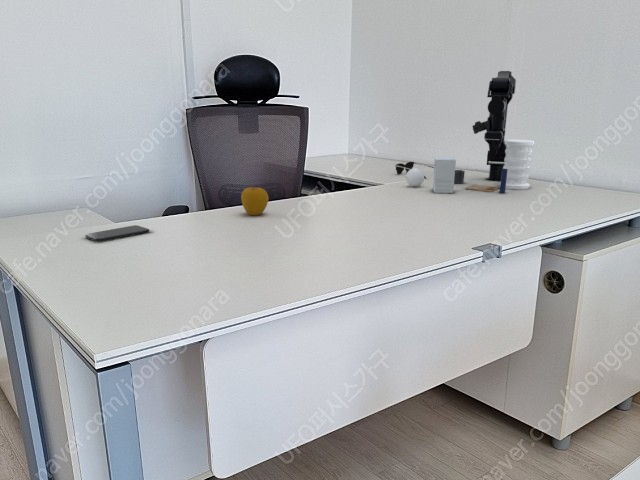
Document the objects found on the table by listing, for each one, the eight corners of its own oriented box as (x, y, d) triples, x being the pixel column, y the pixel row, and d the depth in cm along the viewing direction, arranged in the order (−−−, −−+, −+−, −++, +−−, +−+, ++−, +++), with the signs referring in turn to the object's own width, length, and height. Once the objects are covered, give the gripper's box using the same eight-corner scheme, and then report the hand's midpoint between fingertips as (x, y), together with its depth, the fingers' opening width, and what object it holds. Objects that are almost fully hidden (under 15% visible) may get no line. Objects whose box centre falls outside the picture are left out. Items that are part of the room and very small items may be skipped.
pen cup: (454, 181, 250) (455, 169, 248) (465, 182, 248) (466, 170, 246) (449, 183, 247) (450, 171, 245) (460, 184, 244) (461, 172, 242)
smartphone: (136, 227, 173) (83, 237, 162) (136, 224, 172) (83, 234, 162) (151, 232, 167) (97, 242, 157) (150, 229, 167) (97, 239, 156)
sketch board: (475, 185, 241) (475, 184, 241) (499, 188, 235) (499, 187, 235) (465, 189, 233) (465, 188, 233) (489, 191, 228) (489, 190, 228)
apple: (271, 212, 193) (270, 184, 190) (264, 217, 185) (264, 189, 182) (246, 211, 194) (245, 184, 191) (238, 216, 187) (237, 188, 184)
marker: (500, 192, 227) (503, 168, 224) (505, 192, 226) (508, 168, 223) (498, 192, 226) (501, 169, 223) (503, 193, 225) (506, 169, 222)
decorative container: (518, 183, 245) (524, 139, 239) (535, 188, 235) (541, 141, 228) (494, 185, 242) (498, 139, 236) (509, 190, 232) (515, 142, 225)
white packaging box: (451, 189, 232) (454, 157, 227) (453, 193, 225) (456, 159, 220) (432, 189, 232) (434, 156, 228) (433, 193, 225) (436, 159, 221)
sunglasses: (412, 171, 275) (413, 161, 273) (441, 177, 265) (442, 166, 263) (394, 175, 266) (395, 163, 264) (423, 181, 256) (425, 169, 254)
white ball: (427, 187, 238) (428, 168, 235) (413, 188, 234) (414, 169, 231) (411, 183, 246) (412, 165, 243) (397, 185, 242) (398, 166, 239)
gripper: (477, 112, 230) (473, 153, 235) (472, 114, 213) (468, 158, 219) (507, 112, 226) (503, 154, 232) (504, 115, 210) (499, 160, 215)
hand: (492, 156), depth 225 cm, fingers open, 9 cm apart
